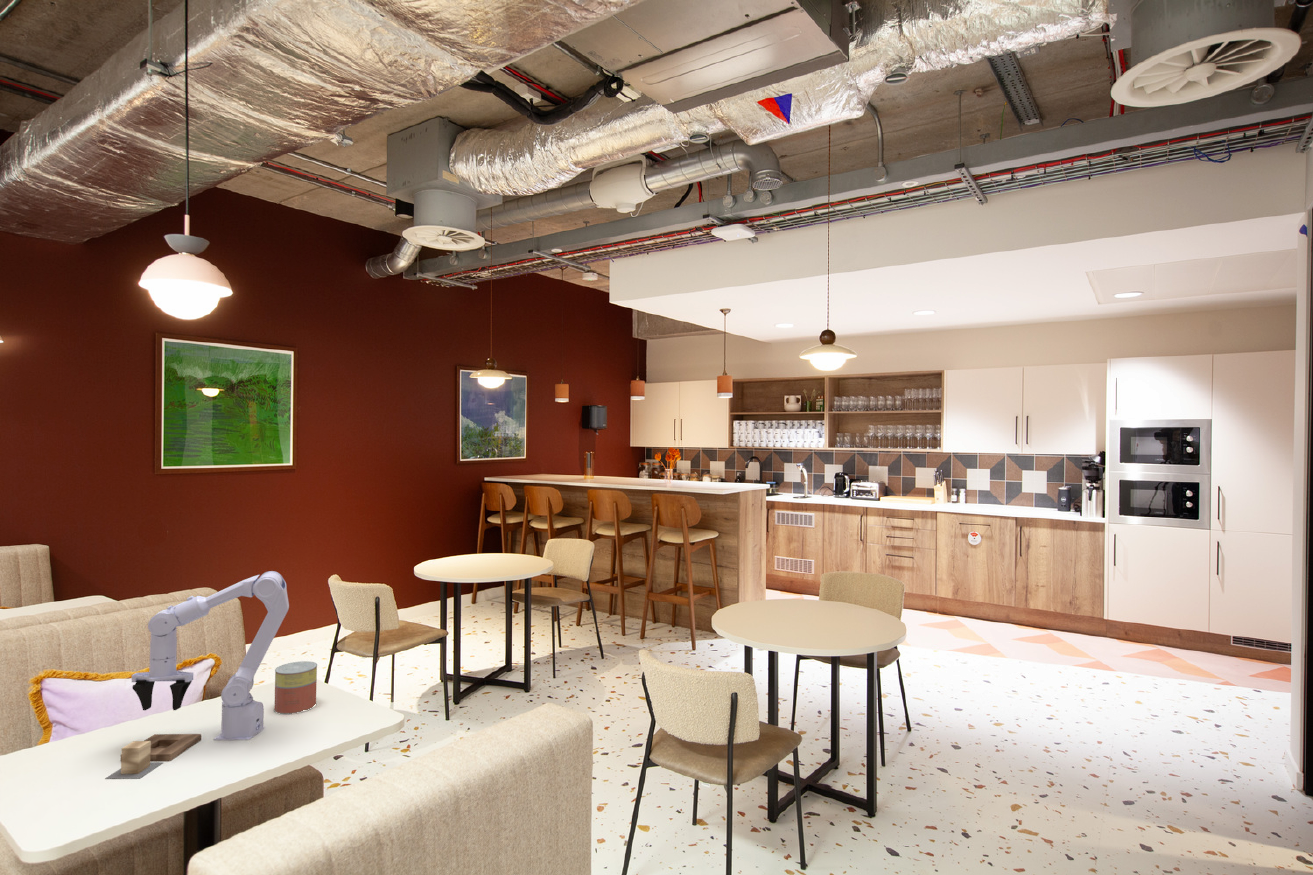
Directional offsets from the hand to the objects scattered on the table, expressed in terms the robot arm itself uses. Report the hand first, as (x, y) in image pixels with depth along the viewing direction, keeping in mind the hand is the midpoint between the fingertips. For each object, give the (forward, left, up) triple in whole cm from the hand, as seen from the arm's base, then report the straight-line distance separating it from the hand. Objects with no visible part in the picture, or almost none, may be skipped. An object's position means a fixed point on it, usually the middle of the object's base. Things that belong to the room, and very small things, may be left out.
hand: (161, 708), depth 176 cm
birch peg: (-4, +15, -9) cm, 18 cm away
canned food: (-22, -26, -10) cm, 35 cm away
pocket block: (-3, +4, -9) cm, 11 cm away
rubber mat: (-4, +15, -9) cm, 18 cm away
